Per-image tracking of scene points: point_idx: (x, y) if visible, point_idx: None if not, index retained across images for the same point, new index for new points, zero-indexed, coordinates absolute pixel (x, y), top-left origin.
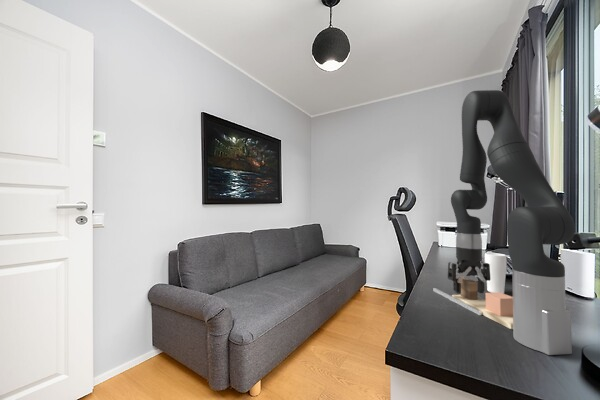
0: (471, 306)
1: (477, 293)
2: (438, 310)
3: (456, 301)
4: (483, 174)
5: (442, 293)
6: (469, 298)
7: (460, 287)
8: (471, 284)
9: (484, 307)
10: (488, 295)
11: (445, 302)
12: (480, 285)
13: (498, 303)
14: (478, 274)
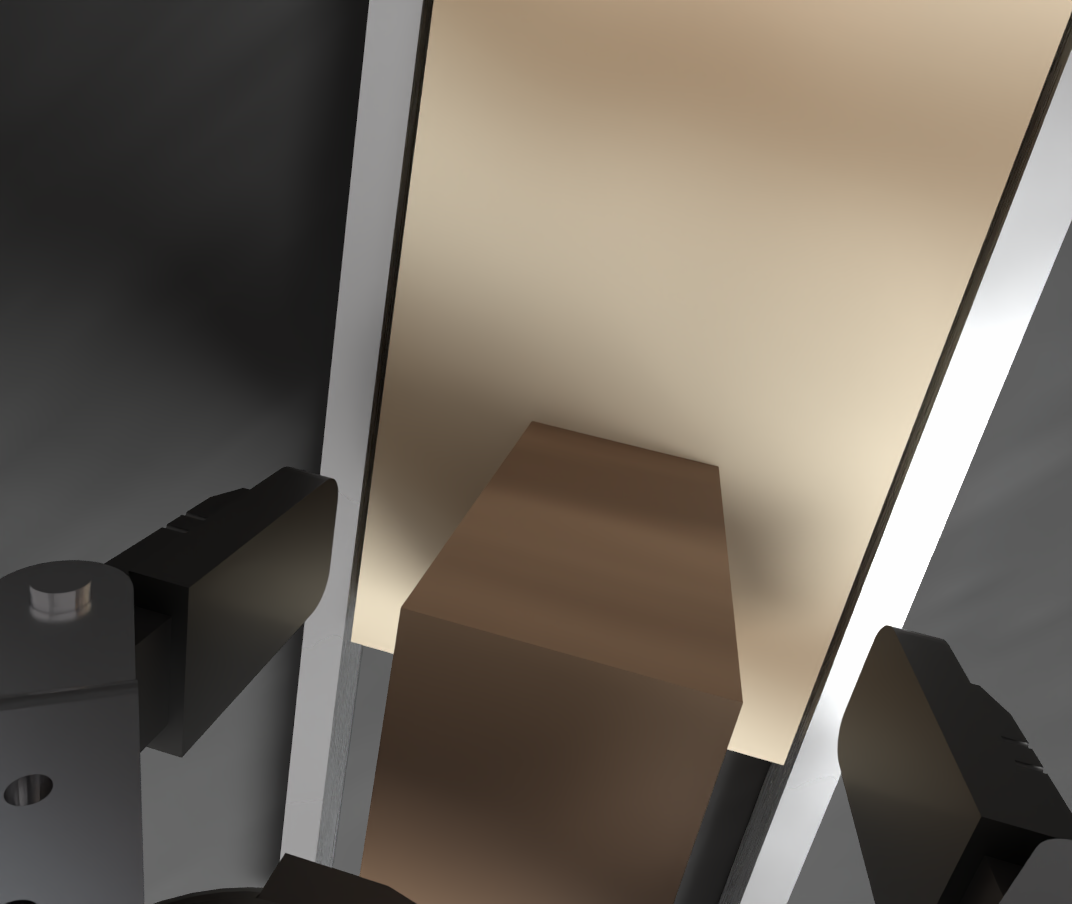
0: (1028, 217)
1: (501, 466)
2: None
3: (902, 581)
4: None
5: (778, 900)
6: (720, 477)
7: (949, 719)
8: (659, 626)
9: (884, 11)
10: None
11: (1069, 661)
12: (240, 587)
13: None
14: (137, 828)
